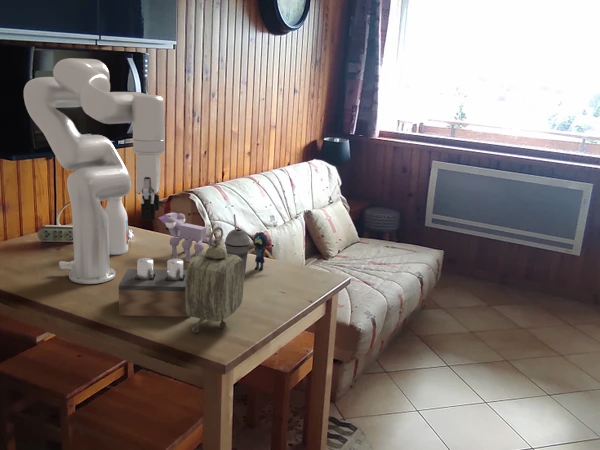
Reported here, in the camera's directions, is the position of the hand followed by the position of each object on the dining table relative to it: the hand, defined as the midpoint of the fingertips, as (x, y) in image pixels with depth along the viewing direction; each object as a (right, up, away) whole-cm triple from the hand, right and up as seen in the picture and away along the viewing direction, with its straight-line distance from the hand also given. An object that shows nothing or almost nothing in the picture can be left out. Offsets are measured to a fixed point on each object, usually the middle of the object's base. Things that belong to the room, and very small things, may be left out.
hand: (150, 214), depth 152 cm
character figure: (+25, -17, +36) cm, 47 cm away
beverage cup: (+19, -19, +26) cm, 37 cm away
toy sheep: (0, -13, +44) cm, 46 cm away
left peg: (-2, -19, +3) cm, 20 cm away
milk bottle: (-22, -11, +44) cm, 51 cm away
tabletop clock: (+17, -27, -4) cm, 33 cm away
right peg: (+5, -19, +4) cm, 21 cm away
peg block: (+1, -24, +5) cm, 24 cm away
